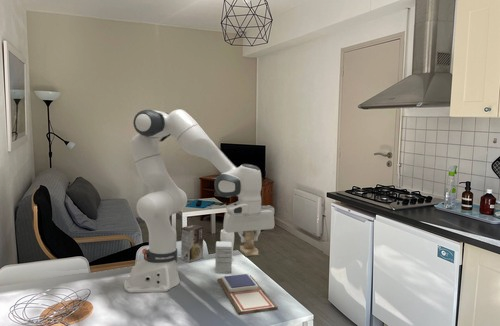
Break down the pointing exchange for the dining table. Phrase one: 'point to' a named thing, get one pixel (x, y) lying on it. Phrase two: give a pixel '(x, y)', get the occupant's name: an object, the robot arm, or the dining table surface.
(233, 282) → the ink pad
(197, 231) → the coffee box
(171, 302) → the dining table surface
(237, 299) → the sheet
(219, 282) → the stamping board
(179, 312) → the dining table surface
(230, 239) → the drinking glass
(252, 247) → the wooden stamp
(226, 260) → the supplement box
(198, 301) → the dining table surface
